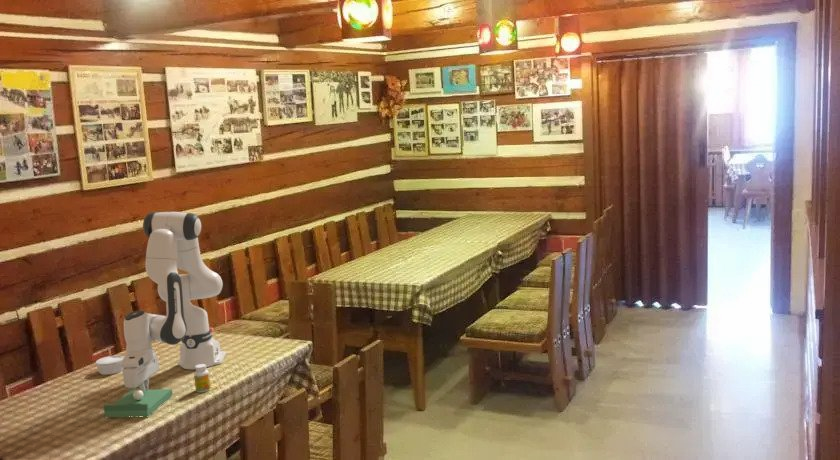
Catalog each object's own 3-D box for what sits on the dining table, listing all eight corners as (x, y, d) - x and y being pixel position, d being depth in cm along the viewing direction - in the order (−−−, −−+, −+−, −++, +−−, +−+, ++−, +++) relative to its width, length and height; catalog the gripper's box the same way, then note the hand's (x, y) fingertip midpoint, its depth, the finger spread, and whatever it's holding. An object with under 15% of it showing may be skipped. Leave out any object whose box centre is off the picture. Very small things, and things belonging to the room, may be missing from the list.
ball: (130, 393, 275) (132, 402, 276) (139, 393, 274) (141, 402, 275) (134, 388, 278) (136, 396, 279) (144, 388, 278) (146, 396, 279)
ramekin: (130, 366, 325) (129, 354, 324) (118, 375, 314) (116, 363, 313) (105, 367, 326) (104, 355, 325) (92, 376, 315) (90, 364, 314)
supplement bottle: (195, 393, 287) (193, 369, 285) (196, 388, 292) (193, 364, 290) (210, 391, 288) (207, 366, 287) (210, 386, 293) (207, 362, 292)
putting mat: (132, 396, 288) (130, 384, 288) (172, 395, 286) (171, 384, 286) (104, 417, 269) (103, 405, 268) (148, 417, 267) (146, 404, 266)
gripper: (145, 347, 290) (149, 381, 292) (118, 364, 270) (122, 402, 272) (160, 346, 289) (165, 381, 291) (134, 364, 269) (139, 401, 271)
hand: (144, 391), depth 281 cm, fingers closed
